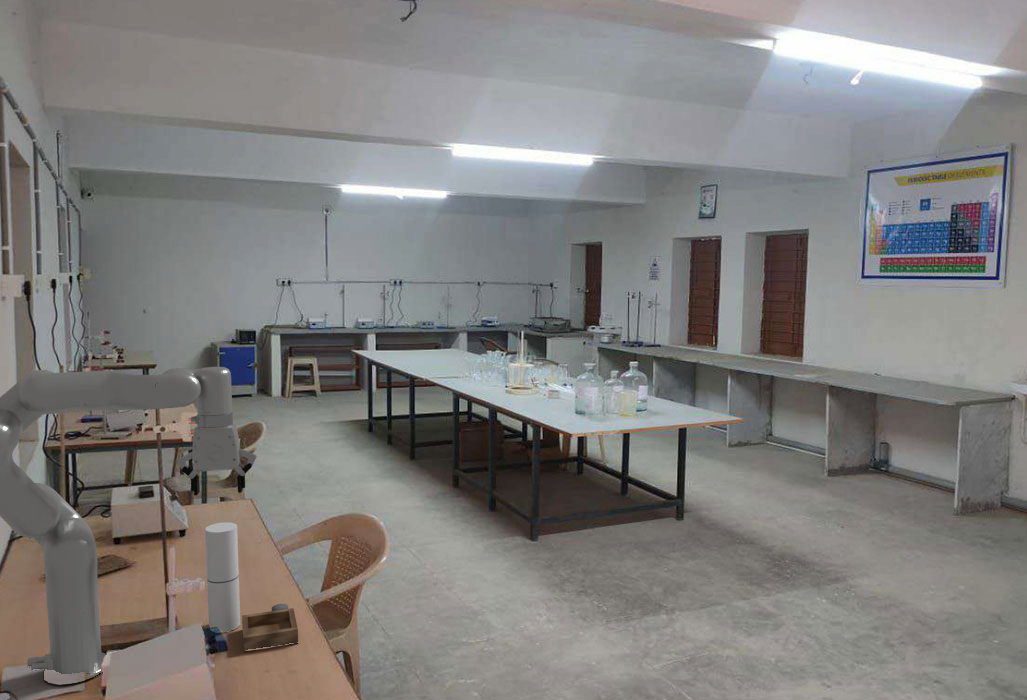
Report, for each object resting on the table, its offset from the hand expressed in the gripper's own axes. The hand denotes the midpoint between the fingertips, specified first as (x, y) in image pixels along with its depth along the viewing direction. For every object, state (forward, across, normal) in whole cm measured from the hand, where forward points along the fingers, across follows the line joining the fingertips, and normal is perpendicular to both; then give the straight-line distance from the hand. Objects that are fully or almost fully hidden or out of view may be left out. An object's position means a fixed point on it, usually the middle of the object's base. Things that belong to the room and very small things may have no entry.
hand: (218, 492), depth 178 cm
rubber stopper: (+35, +12, +7) cm, 38 cm away
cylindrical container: (+35, -1, +4) cm, 35 cm away
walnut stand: (+35, +10, -3) cm, 37 cm away
